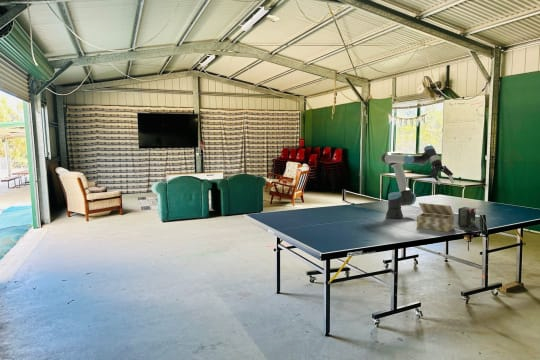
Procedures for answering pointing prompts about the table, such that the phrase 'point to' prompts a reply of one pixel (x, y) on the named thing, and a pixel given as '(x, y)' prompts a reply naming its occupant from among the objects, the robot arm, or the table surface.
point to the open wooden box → (435, 222)
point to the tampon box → (466, 216)
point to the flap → (436, 209)
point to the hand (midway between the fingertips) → (446, 183)
